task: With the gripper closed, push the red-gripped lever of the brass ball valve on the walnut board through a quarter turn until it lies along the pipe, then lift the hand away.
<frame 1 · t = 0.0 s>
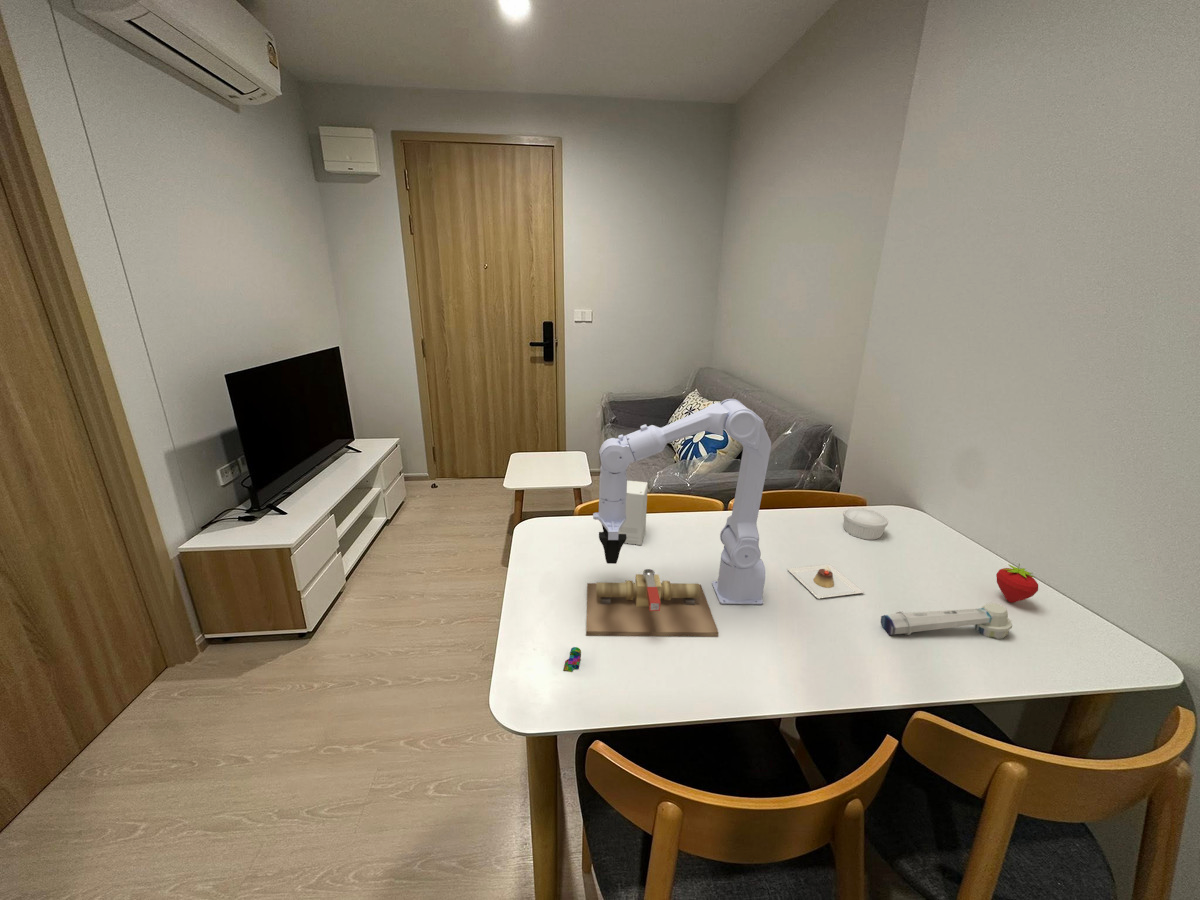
hand: (610, 553, 102), 10 cm above the table, tool pointing down, fingers open, 7 cm apart
valve board: (646, 604, 102), on the table
puzzle cube: (574, 665, 86), on the table
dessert: (823, 584, 112), on the table
valve lever: (651, 588, 95), point 7 cm above the table, hinge at 90.0°
ramekin: (861, 533, 136), on the table
supplement box: (627, 536, 131), on the table
toothbrush head: (943, 633, 96), on the table
strawberry: (1009, 602, 106), on the table
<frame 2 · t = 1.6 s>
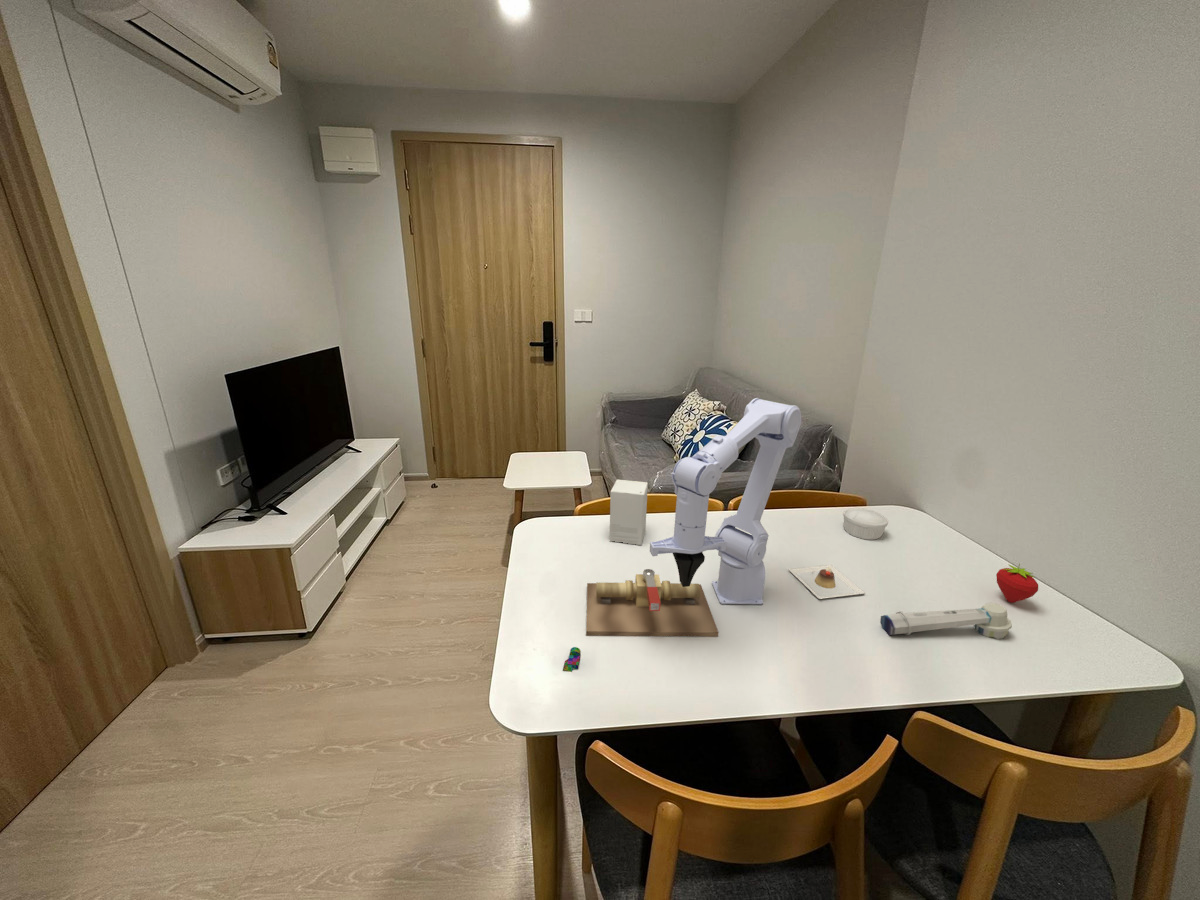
hand: (684, 583, 92), 10 cm above the table, tool pointing down, fingers closed
nothing on the table moved.
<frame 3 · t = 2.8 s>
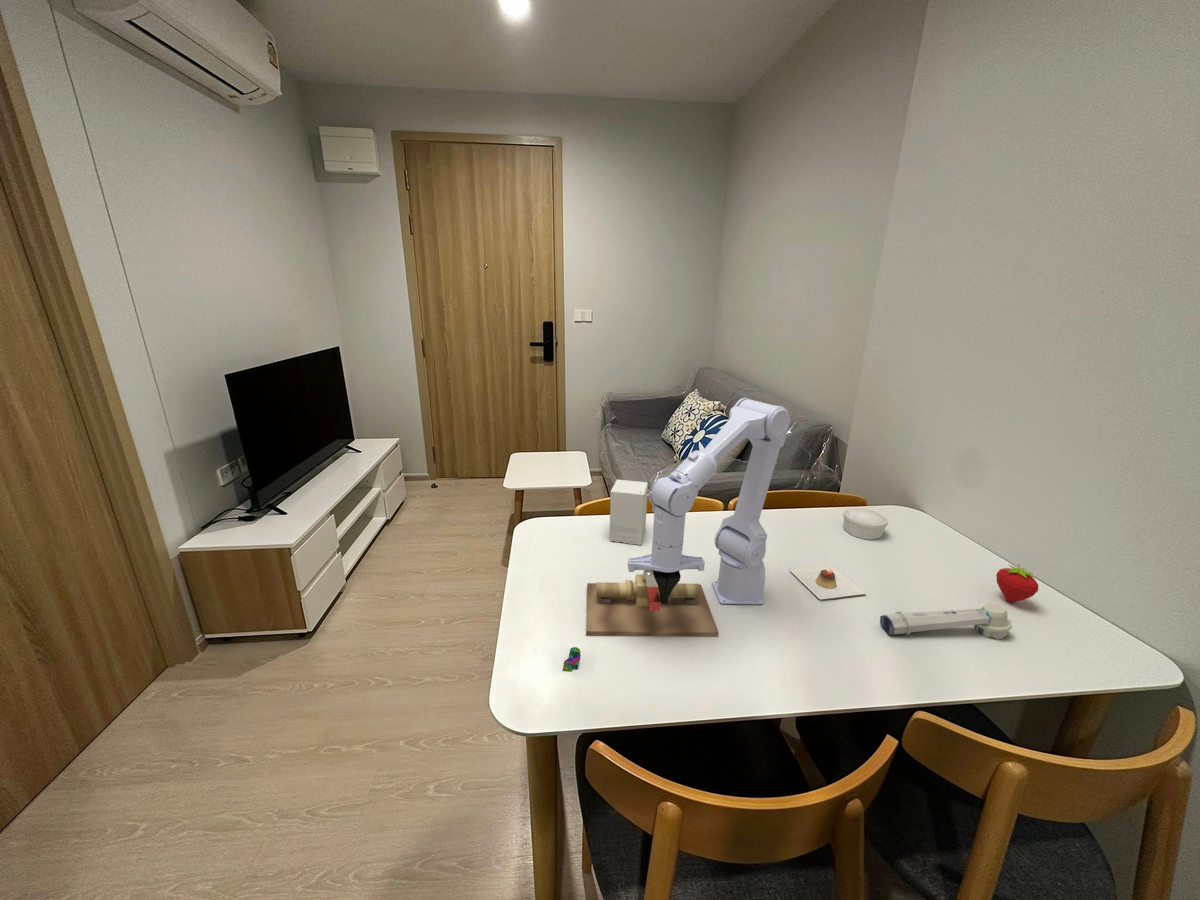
hand: (663, 600, 93), 6 cm above the table, tool pointing down, fingers closed
valve lever: (651, 588, 95), point 7 cm above the table, hinge at 90.0°, touching gripper
everything else where it was.
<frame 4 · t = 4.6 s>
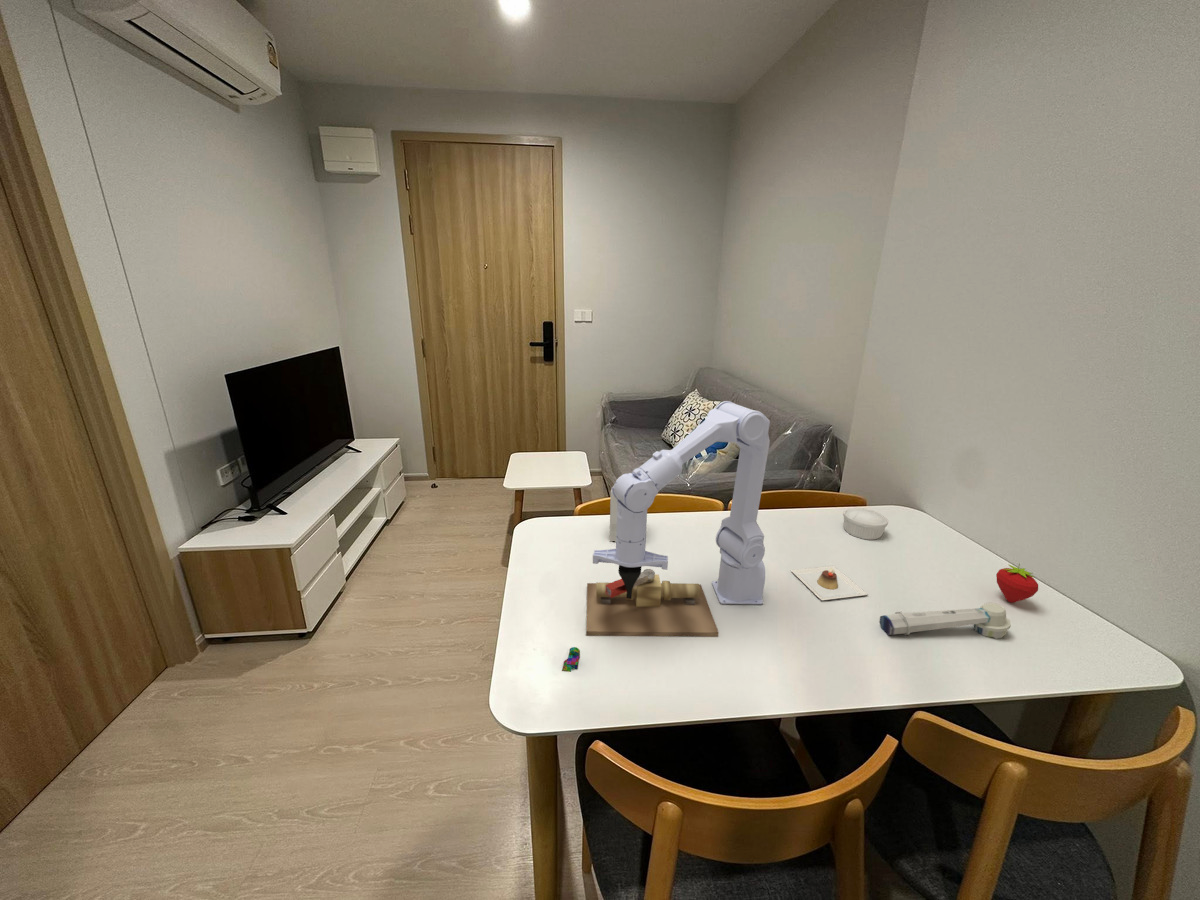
hand: (628, 595, 94), 6 cm above the table, tool pointing down, fingers closed, pressing on valve lever
valve lever: (631, 582, 97), point 7 cm above the table, hinge at 33.7°, touching gripper
everything else where it was.
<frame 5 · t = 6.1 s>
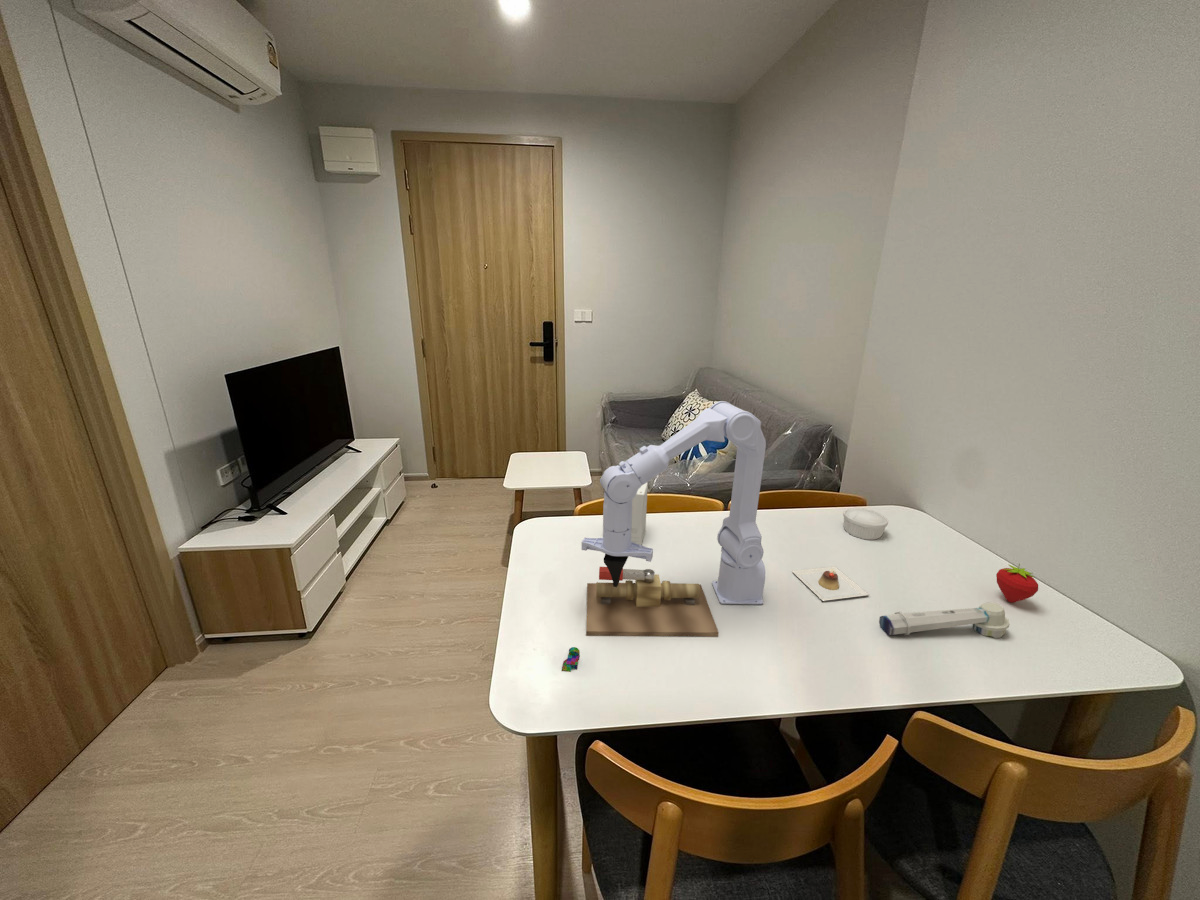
hand: (615, 584, 98), 6 cm above the table, tool pointing down, fingers closed, pressing on valve lever
valve lever: (626, 574, 100), point 7 cm above the table, hinge at -3.3°, touching gripper
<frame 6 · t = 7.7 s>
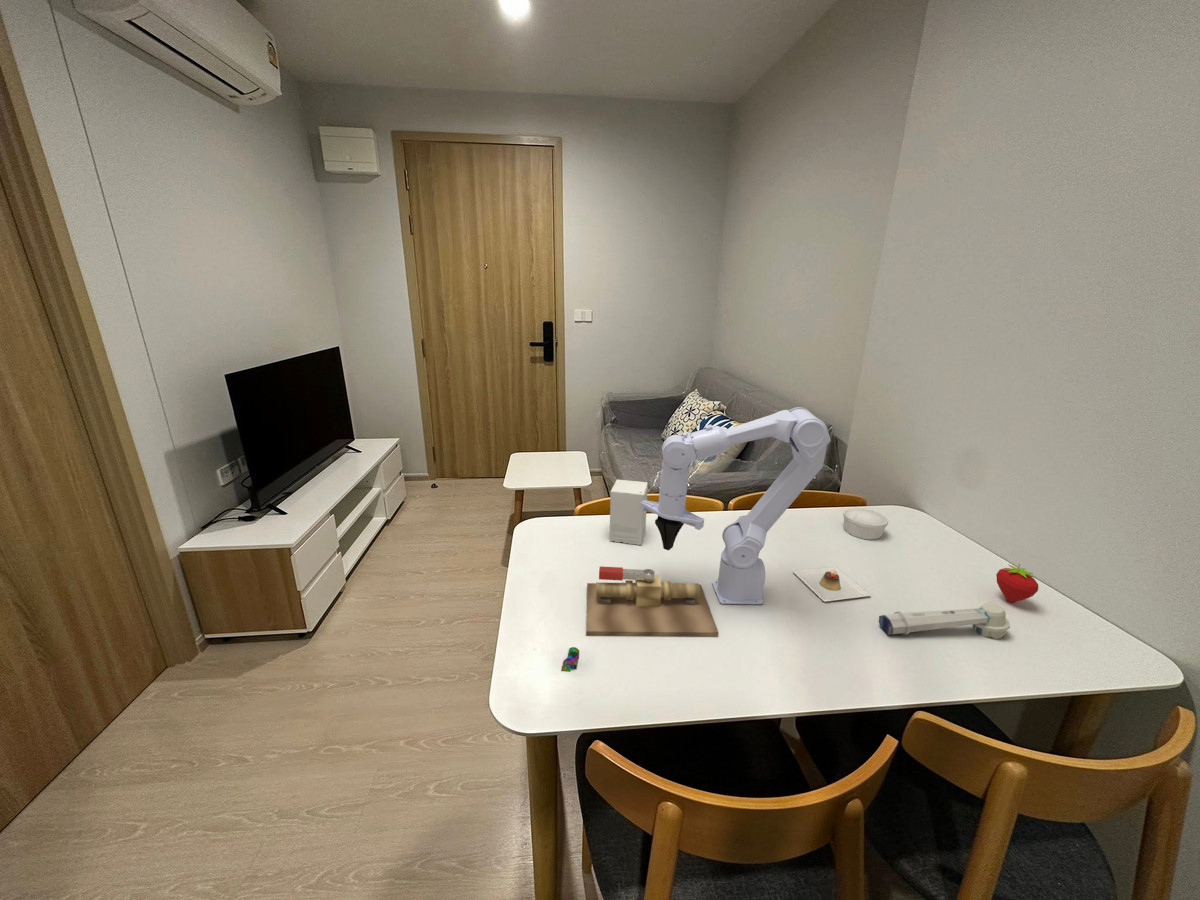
hand: (668, 547, 105), 10 cm above the table, tool pointing down, fingers closed
valve lever: (626, 574, 100), point 7 cm above the table, hinge at -3.7°
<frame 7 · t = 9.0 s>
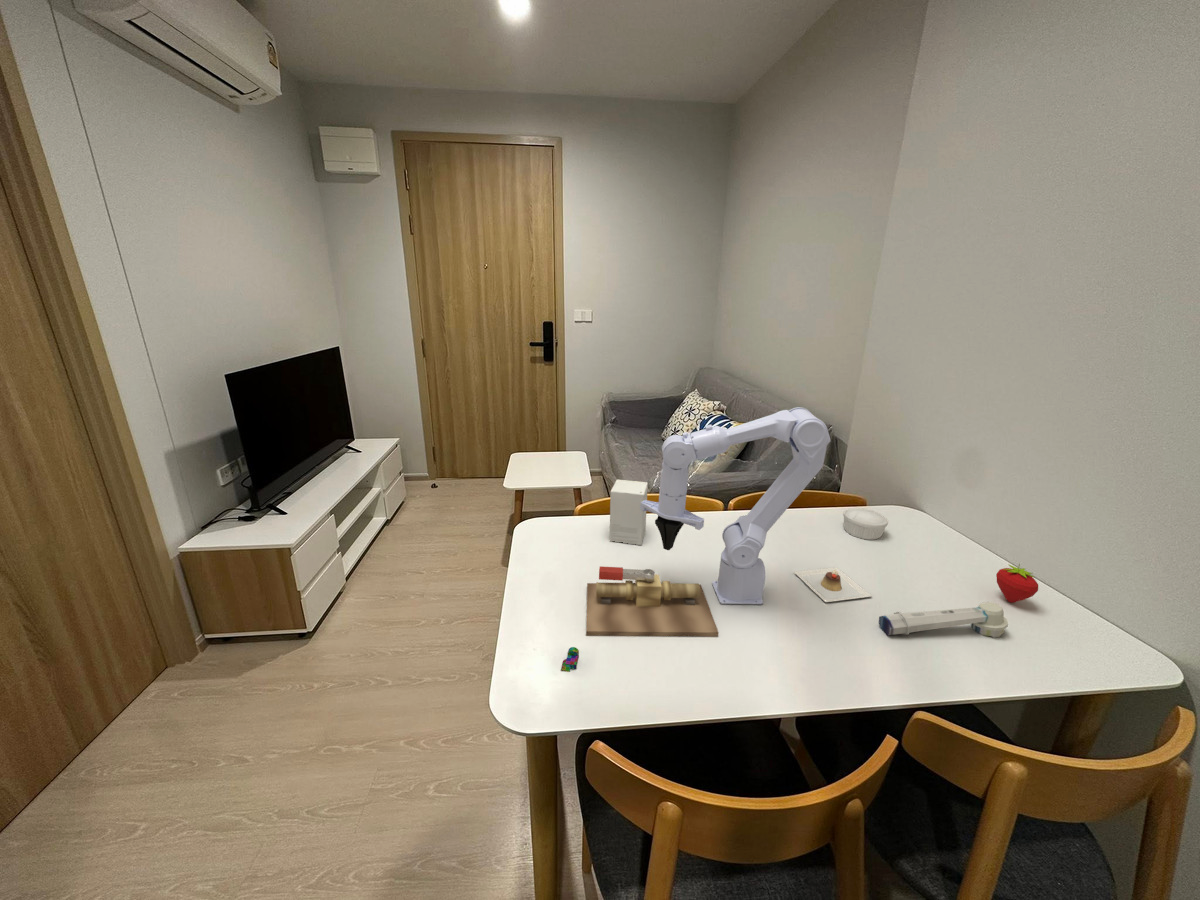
hand: (668, 547, 105), 10 cm above the table, tool pointing down, fingers closed
at the end: valve lever at -4° (first picture: +90°) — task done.
